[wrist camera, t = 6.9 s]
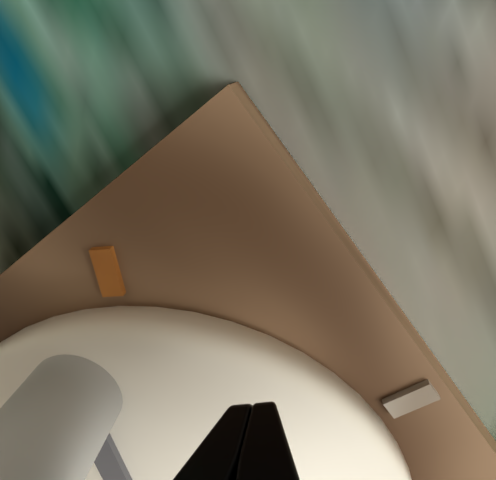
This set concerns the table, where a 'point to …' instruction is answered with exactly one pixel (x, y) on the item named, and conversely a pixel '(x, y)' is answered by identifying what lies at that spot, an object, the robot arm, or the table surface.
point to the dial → (170, 398)
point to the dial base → (251, 275)
